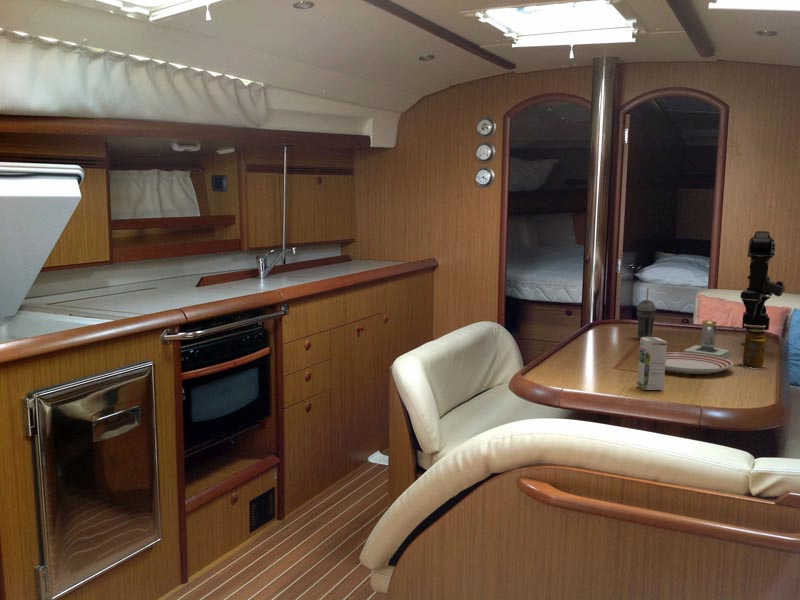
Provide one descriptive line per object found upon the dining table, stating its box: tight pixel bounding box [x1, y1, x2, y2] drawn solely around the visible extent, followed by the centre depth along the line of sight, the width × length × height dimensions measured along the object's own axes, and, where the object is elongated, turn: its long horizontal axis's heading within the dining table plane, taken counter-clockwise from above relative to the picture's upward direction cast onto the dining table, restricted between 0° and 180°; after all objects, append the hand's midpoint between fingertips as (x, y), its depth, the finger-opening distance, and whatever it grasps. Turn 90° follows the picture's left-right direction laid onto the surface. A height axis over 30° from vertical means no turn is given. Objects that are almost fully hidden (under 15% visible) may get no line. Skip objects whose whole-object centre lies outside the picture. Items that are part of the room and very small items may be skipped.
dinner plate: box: [665, 351, 734, 375], centre depth 236 cm, size 28×27×3 cm
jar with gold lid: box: [700, 320, 717, 353], centre depth 256 cm, size 4×4×12 cm
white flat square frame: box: [683, 344, 731, 359], centre depth 256 cm, size 12×12×2 cm
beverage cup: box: [636, 288, 657, 341], centre depth 282 cm, size 7×7×20 cm
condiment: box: [733, 329, 769, 370], centre depth 240 cm, size 7×8×12 cm
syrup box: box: [636, 336, 668, 391], centre depth 209 cm, size 6×6×14 cm
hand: (754, 317), depth 259 cm, fingers open, 9 cm apart
